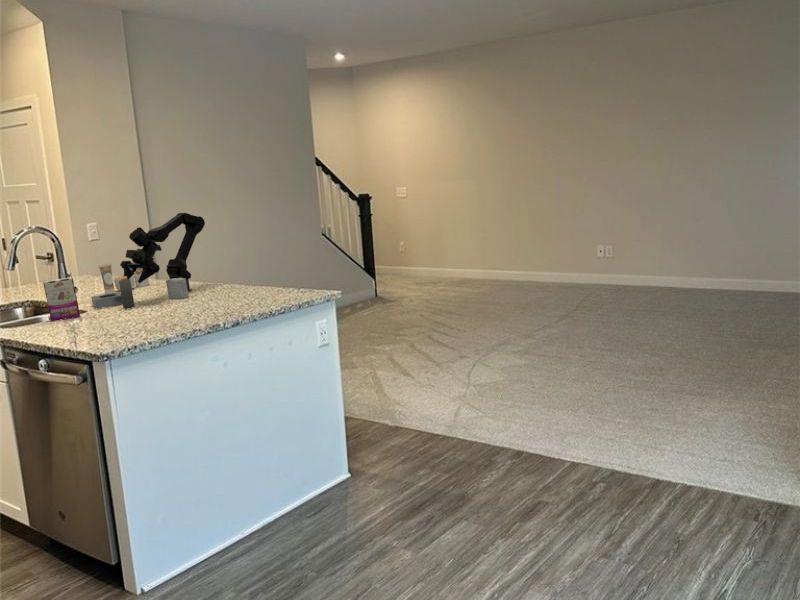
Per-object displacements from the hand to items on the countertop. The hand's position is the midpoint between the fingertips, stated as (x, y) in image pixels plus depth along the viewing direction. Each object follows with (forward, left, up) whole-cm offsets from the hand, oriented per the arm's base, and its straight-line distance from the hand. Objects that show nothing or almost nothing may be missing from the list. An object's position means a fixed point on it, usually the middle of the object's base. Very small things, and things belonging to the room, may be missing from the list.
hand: (131, 282), depth 299 cm
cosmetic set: (+29, -43, -11) cm, 53 cm away
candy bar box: (+21, +18, -11) cm, 30 cm away
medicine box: (-14, -13, -11) cm, 22 cm away
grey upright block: (+1, +3, -10) cm, 11 cm away
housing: (+16, -6, -10) cm, 20 cm away
